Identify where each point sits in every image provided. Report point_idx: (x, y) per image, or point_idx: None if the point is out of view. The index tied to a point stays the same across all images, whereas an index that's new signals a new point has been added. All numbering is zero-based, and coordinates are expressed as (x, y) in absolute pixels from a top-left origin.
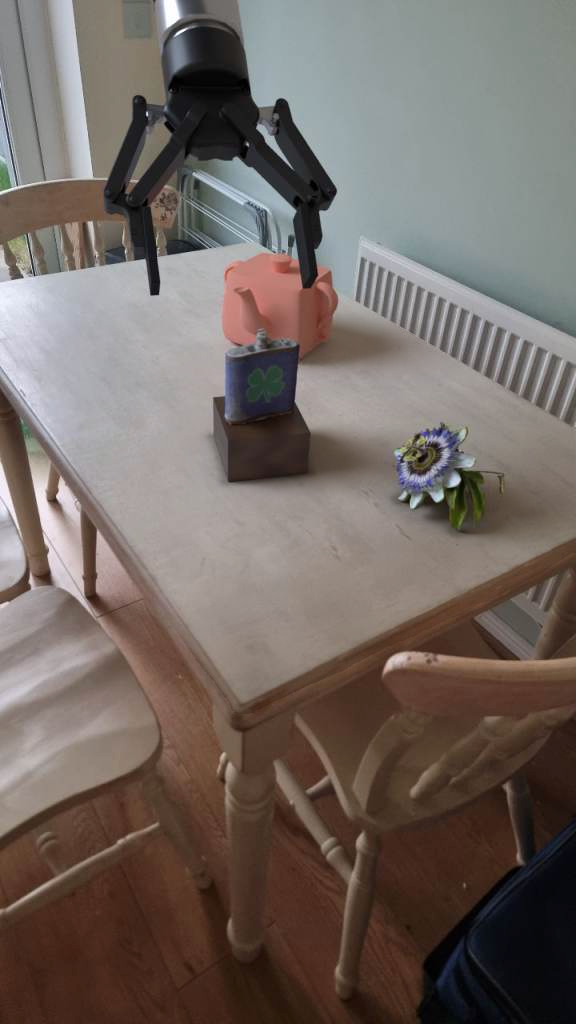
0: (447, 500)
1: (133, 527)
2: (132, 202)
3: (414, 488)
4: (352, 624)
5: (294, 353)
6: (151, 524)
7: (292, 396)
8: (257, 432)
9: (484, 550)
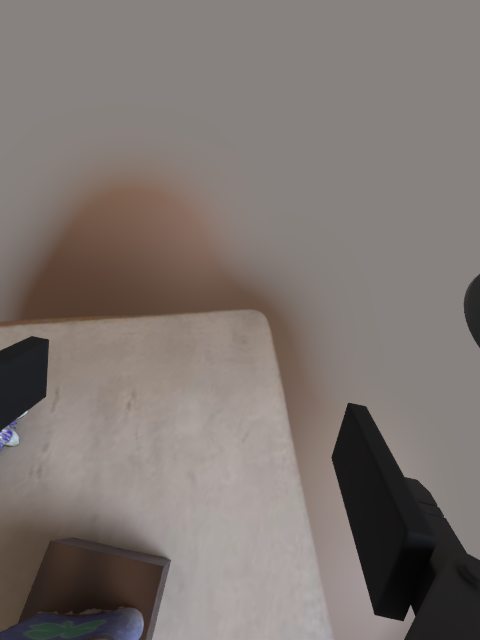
0: None
1: (294, 515)
2: (475, 563)
3: None
4: (167, 330)
5: None
6: (276, 512)
7: (24, 620)
8: (117, 572)
9: None
